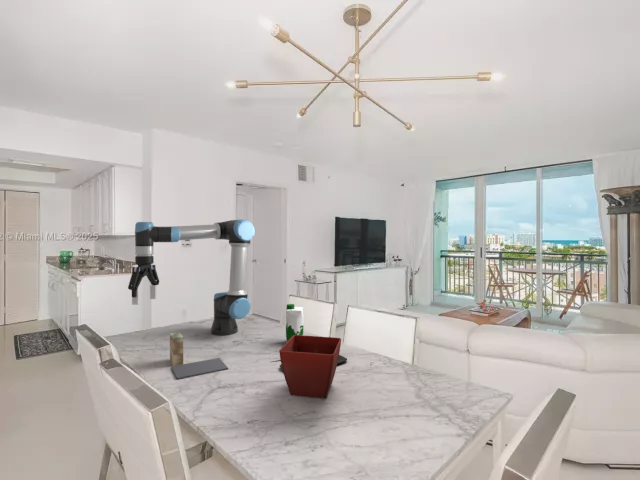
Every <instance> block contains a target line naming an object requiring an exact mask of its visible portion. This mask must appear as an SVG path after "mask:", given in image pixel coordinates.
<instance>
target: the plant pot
mask: <svg viewBox="0 0 640 480" xmlns="http://www.w3.org/2000/svg"><path fill="white" fill-rule="evenodd" d="M341 342H342V338H341V337H330V336H318V335H317V336H316V335H315V336H314V335H304V334H303V335H293V336H292V337H291V338H290V339H289V341H288V342H287V341H286V343H284V345H282V347H281V348H280V349H279V351H278V352H279V358H280V359H279V360H281V361H280V365H282V369H281V370H282V372H283V375H284V380H285V383H286V385H287V390H288V392H289V394H290V396H294V397H303V398H313V399H321V400H324V399H326V398H327V397H328V394H329V392H330V389H331V387H332V384H333V381H334V378H335V374H336V371H337V366H338V364H337V363H338V358H339V355H340V352H341V345H342V343H341Z"/></svg>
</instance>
